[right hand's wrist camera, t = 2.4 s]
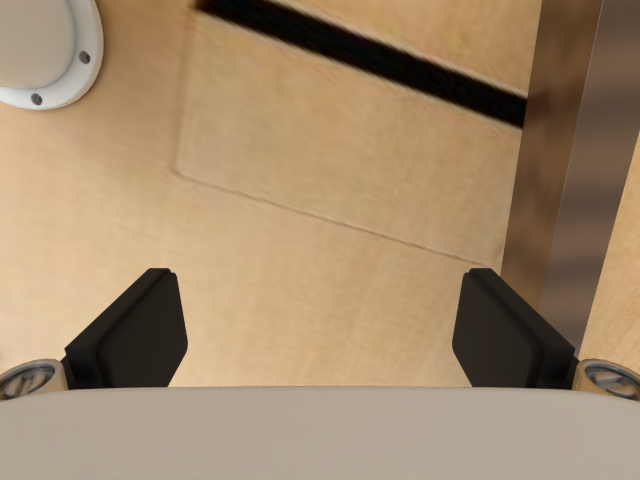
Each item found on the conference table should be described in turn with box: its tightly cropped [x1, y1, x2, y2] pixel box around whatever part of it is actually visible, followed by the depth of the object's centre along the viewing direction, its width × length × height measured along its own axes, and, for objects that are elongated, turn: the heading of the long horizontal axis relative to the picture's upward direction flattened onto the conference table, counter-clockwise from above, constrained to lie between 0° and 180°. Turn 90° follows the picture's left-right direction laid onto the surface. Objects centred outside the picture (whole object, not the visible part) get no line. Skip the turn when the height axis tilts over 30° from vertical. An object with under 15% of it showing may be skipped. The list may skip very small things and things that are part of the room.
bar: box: [500, 0, 640, 359], centre depth 29 cm, size 74×4×7 cm, turn 3°
